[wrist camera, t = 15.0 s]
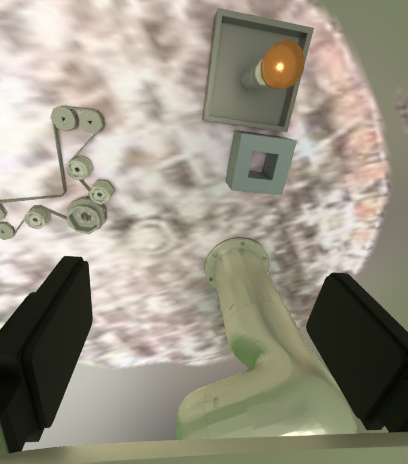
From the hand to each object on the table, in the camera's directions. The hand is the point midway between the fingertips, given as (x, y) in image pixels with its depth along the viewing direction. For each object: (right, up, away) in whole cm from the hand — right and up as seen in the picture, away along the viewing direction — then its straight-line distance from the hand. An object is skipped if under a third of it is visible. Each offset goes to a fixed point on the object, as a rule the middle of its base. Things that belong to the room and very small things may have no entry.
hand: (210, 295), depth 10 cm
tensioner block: (+8, +14, +31) cm, 35 cm away
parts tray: (+6, +24, +26) cm, 36 cm away
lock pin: (+6, +24, +25) cm, 36 cm away
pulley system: (-23, +9, +31) cm, 40 cm away
